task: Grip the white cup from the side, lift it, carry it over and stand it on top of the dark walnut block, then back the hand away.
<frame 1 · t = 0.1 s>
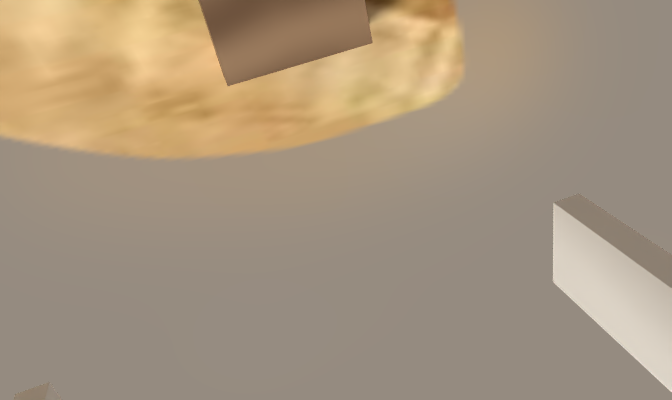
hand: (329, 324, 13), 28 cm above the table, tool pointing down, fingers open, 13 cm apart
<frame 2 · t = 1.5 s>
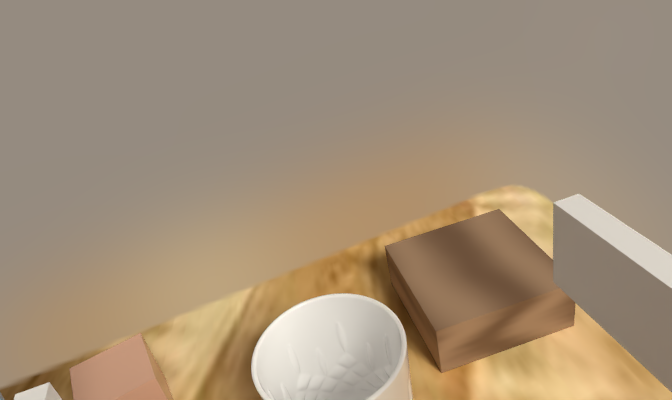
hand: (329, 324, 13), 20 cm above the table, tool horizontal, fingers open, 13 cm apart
walnut block: (474, 302, 40), on the table
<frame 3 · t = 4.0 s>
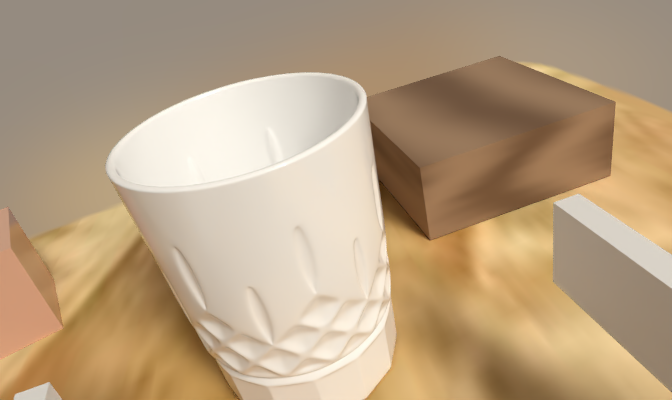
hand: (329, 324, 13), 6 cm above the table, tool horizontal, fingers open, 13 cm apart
terracotta cube: (8, 327, 27), on the table
walnut block: (472, 166, 30), on the table
white cup: (313, 354, 21), on the table
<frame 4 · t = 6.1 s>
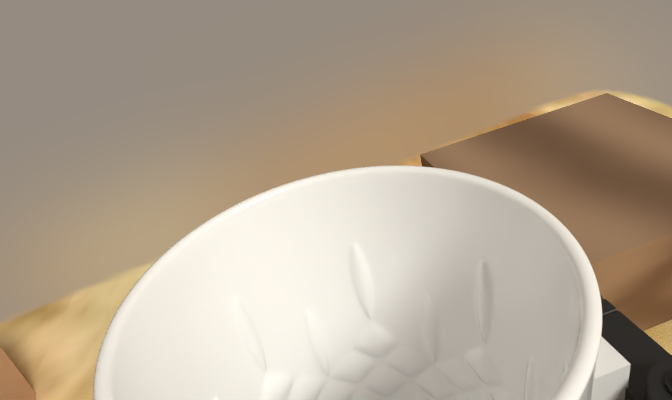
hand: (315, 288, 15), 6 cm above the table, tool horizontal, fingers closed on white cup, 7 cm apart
walnut block: (583, 243, 23), on the table
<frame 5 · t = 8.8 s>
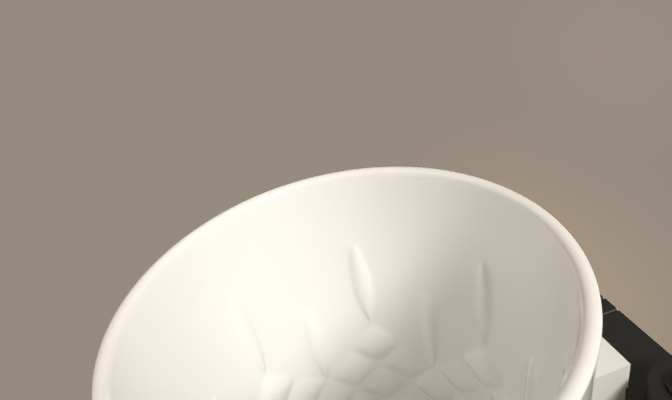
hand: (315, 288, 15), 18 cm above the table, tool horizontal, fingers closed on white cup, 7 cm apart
when the fingers open (11 cm above the table, at t = 11.4 s): white cup drops 1 cm, resting on walnut block.
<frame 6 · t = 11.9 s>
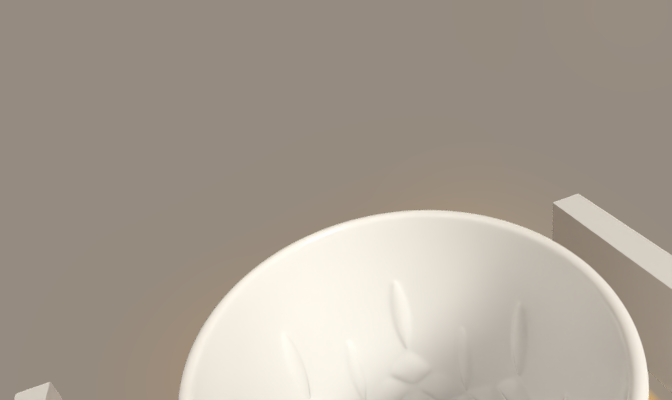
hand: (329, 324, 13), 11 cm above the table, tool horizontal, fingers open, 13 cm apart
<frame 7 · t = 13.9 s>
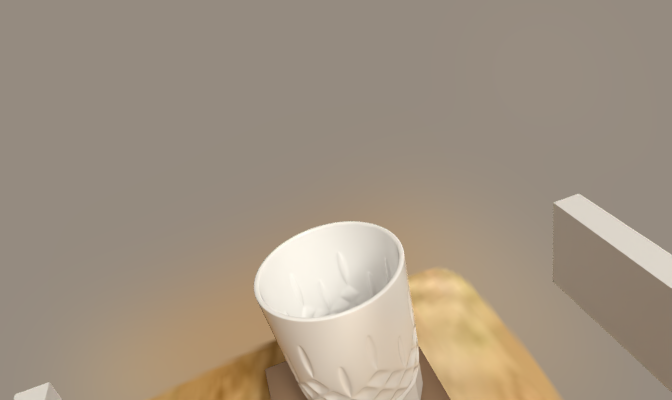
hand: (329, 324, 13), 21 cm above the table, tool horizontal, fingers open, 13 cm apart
white cup: (368, 395, 32), point 4 cm above the table, touching walnut block
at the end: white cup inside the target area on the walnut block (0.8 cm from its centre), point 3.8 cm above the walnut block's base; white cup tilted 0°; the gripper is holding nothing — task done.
